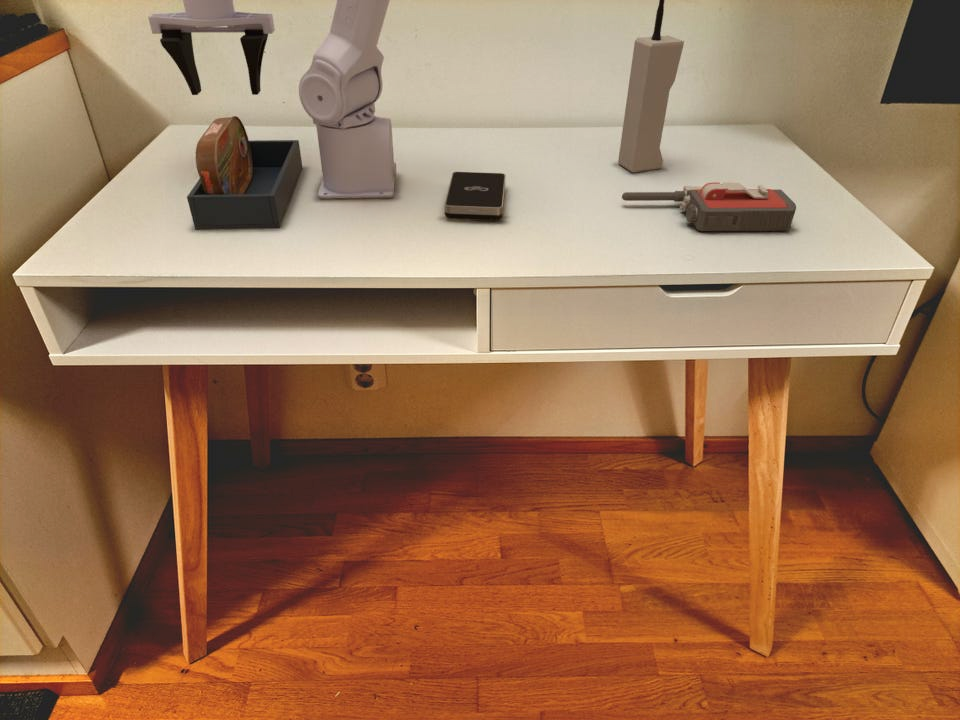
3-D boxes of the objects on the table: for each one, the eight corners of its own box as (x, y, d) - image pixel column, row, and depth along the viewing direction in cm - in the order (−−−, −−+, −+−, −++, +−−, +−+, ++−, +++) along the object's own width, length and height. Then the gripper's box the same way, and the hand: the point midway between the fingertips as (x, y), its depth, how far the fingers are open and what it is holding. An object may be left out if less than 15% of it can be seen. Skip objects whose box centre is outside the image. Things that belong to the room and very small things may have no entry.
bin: (302, 168, 94) (298, 139, 92) (279, 228, 79) (274, 195, 77) (231, 169, 94) (225, 140, 91) (195, 229, 79) (186, 196, 76)
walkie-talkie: (773, 202, 87) (618, 203, 86) (782, 168, 84) (623, 169, 84) (802, 232, 80) (634, 233, 79) (813, 197, 77) (639, 198, 77)
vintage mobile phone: (661, 169, 96) (698, -35, 81) (631, 173, 94) (662, -33, 80) (647, 160, 99) (679, -38, 84) (617, 164, 97) (645, -37, 82)
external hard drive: (505, 187, 90) (505, 173, 89) (502, 224, 81) (502, 208, 80) (452, 186, 90) (452, 171, 89) (444, 222, 81) (443, 206, 80)
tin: (231, 218, 80) (215, 148, 75) (204, 219, 80) (186, 148, 75) (257, 171, 92) (245, 107, 87) (233, 171, 92) (220, 107, 87)
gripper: (270, -30, 84) (287, 84, 93) (151, -31, 84) (178, 84, 92) (259, -22, 79) (278, 99, 87) (131, -23, 78) (162, 99, 86)
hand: (226, 92), depth 89 cm, fingers open, 7 cm apart
